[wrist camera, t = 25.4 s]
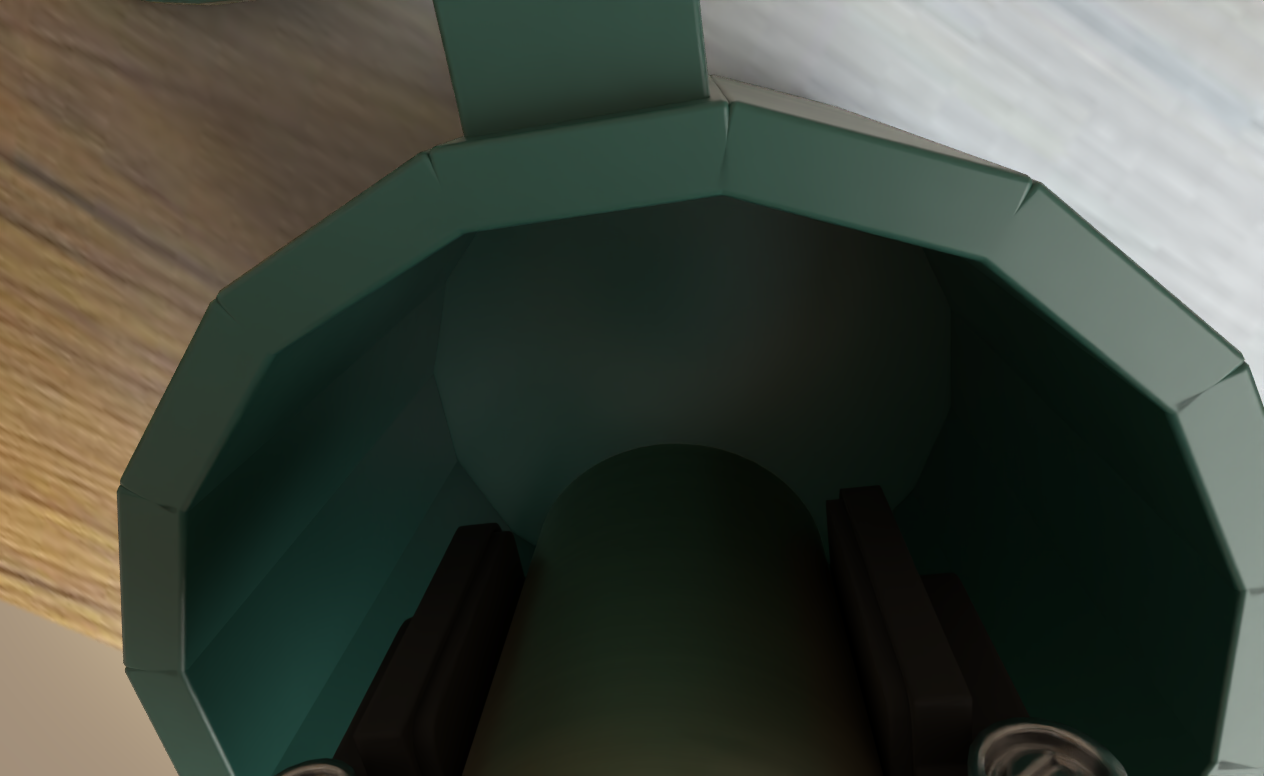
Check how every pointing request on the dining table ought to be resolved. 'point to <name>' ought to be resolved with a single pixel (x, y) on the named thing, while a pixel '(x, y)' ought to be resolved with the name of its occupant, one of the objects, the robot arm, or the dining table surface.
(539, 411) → the pot
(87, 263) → the dining table surface
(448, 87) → the dining table surface
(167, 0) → the lid
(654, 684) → the tin
